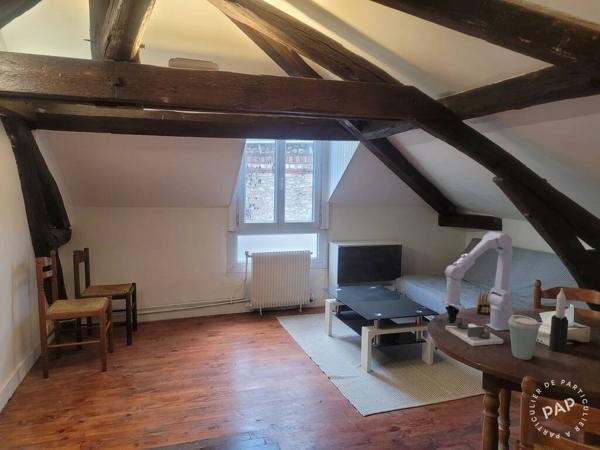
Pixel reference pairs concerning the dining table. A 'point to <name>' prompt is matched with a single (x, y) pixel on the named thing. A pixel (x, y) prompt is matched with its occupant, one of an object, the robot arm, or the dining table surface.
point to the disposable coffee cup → (523, 335)
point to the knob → (456, 323)
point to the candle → (559, 326)
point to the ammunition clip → (483, 304)
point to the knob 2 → (478, 332)
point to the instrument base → (474, 340)
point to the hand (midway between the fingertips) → (452, 322)
